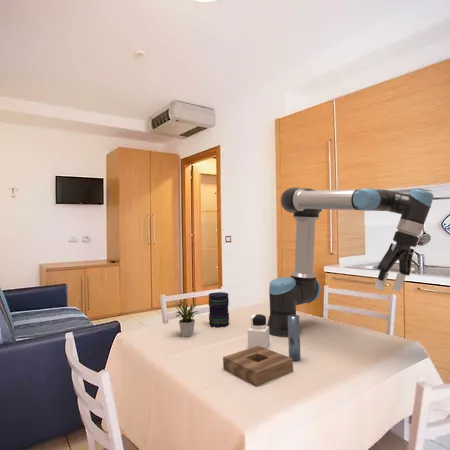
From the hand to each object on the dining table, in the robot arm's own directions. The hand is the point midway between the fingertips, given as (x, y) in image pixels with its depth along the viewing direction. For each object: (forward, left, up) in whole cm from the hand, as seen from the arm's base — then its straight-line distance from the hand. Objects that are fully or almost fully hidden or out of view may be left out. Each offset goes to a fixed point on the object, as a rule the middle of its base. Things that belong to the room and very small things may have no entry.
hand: (387, 289), depth 118 cm
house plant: (-70, -43, -23) cm, 85 cm away
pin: (-20, -28, -23) cm, 41 cm away
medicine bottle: (-38, -28, -23) cm, 52 cm away
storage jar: (-72, -22, -23) cm, 79 cm away
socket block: (-22, -44, -23) cm, 54 cm away
